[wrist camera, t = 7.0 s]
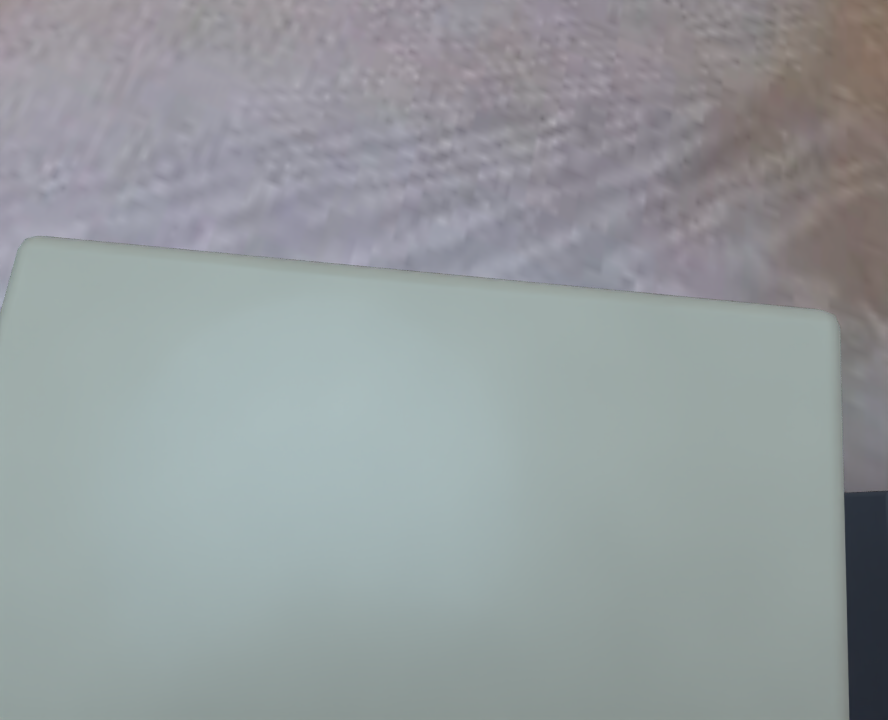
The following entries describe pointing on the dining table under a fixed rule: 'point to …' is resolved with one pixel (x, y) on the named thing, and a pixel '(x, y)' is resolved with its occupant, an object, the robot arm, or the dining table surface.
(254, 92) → the dining table surface
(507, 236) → the dining table surface
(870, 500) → the grey blocks
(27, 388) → the pale green rectangular slab
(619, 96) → the dining table surface
